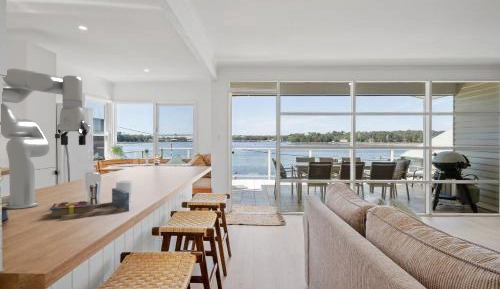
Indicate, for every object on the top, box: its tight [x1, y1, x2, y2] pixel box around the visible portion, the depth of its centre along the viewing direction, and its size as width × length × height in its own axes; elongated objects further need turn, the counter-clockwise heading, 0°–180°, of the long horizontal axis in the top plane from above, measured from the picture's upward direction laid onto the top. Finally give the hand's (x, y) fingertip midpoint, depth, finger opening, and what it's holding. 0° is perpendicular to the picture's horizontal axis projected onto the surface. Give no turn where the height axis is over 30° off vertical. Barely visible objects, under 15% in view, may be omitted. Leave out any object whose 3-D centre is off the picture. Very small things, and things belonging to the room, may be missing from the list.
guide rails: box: [60, 187, 130, 221], centre depth 143 cm, size 26×16×8 cm, turn 131°
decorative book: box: [49, 200, 97, 220], centre depth 139 cm, size 11×16×5 cm
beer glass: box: [84, 171, 102, 205], centre depth 158 cm, size 7×7×15 cm
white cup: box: [115, 180, 134, 203], centre depth 166 cm, size 8×8×10 cm
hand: (73, 145), depth 144 cm, fingers open, 9 cm apart
